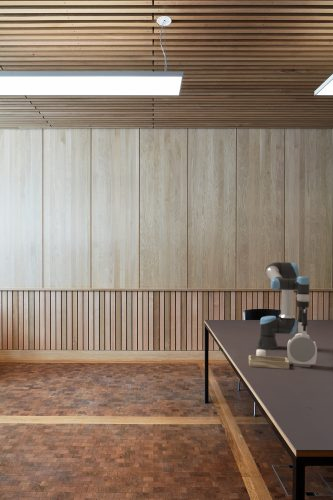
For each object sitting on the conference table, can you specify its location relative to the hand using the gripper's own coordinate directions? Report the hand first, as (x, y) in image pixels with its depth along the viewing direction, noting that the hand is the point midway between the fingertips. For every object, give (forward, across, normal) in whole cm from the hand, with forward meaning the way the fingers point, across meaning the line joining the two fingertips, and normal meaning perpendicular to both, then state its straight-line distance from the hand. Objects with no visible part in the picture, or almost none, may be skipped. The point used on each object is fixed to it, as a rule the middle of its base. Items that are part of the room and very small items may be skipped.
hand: (302, 334), depth 272 cm
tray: (+20, +4, -21) cm, 29 cm away
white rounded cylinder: (+20, -6, -25) cm, 33 cm away
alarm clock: (+20, 0, 0) cm, 20 cm away
